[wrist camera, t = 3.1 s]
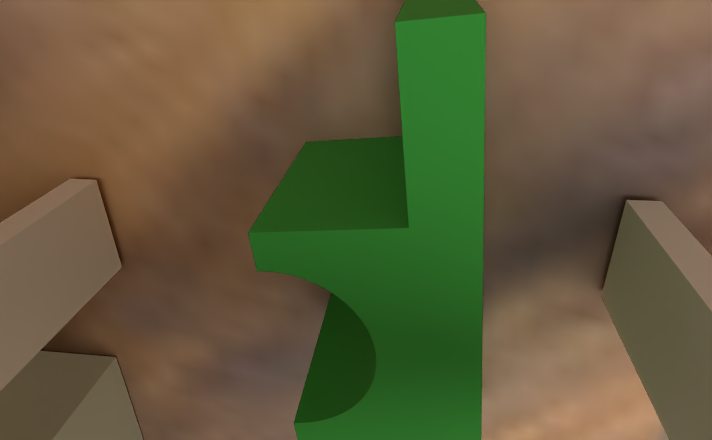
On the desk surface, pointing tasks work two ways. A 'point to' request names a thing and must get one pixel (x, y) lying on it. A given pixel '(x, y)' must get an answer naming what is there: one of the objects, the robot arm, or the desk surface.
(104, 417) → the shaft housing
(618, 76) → the desk surface
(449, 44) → the pipe clamp
